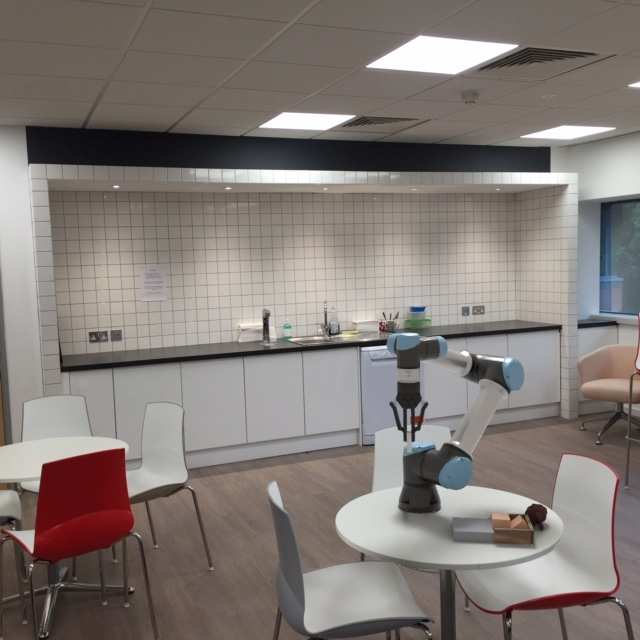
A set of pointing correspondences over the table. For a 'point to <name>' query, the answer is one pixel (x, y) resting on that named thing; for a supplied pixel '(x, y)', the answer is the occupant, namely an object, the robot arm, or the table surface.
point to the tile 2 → (518, 523)
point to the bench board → (472, 529)
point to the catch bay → (515, 533)
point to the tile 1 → (500, 520)
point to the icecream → (537, 514)
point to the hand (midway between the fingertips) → (409, 451)
